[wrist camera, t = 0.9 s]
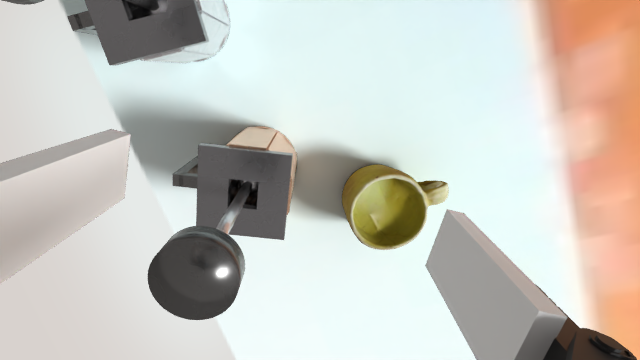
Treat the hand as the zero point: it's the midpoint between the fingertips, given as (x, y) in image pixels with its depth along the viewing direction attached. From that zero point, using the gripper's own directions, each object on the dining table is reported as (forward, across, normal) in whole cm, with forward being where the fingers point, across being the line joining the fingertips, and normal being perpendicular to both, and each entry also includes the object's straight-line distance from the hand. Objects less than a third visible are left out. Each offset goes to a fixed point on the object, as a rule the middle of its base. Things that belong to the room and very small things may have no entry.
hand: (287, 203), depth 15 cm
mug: (+32, +13, -8) cm, 35 cm away
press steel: (+32, -17, +6) cm, 37 cm away
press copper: (+32, -6, -8) cm, 33 cm away
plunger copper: (+22, -4, -8) cm, 24 cm away
